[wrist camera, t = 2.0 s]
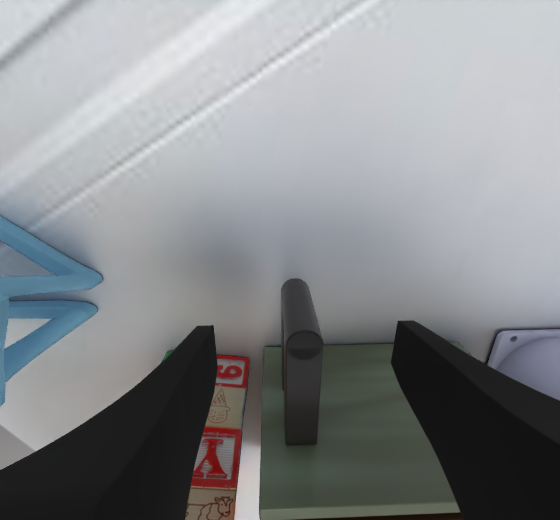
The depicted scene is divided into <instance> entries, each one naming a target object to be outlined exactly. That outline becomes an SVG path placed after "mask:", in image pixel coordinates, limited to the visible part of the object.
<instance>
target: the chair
mask: <svg viewBox="0 0 560 520" xmlns="http://www.w3.org/2000/svg"><path fill="white" fill-rule="evenodd" d="M0 240H1V241H2V242H4V243H5V244H7V245H9V246H10V247H12V248H13V249H15V250H17V251H18V252H20V253H21V254H23V255H24V256H26V257H28V258H29V259H31V260H32V261H34V262H36V263H37V264H39V265H40V266H42V267H44V268H45V269H47V270H48V271H50V272H52V273H53V274H55V275H57V276H13V277H0V406H1V405H2V404H3V403H4V402H5V383H6V382H7V381H8V380H9V379H10V378H11V377H12V376H13V375H14V374H15V373H17V372H18V371H19V370H20V369H22V368H23V367H24V366H25V365H27V364H28V363H29V362H30V361H32V360H33V359H34V358H36V357H37V356H38V355H40V354H41V353H42V352H44V351H45V350H46V349H47V348H49V347H50V346H52V345H53V344H54V343H56V342H57V341H58V340H60V339H61V338H63V337H64V336H65V335H67V334H68V333H69V332H71V331H72V330H74V329H75V328H76V327H78V326H79V325H81V324H82V323H84V322H85V321H86V320H88V319H89V318H91V317H92V316H93V315H95V314H96V312H97V308H96V307H95V306H94V305H92V304H90V303H86V302H79V301H9V298H10V297H16V296H23V295H29V294H38V293H48V292H61V291H75V290H89V289H91V288H93V287H95V286H96V285H98V284H99V283H101V282H102V276H101V275H100V274H99V273H98V272H96V271H94V270H92V269H90V268H88V267H86V266H84V265H82V264H80V263H78V262H76V261H74V260H72V259H71V258H69V257H67V256H65V255H64V254H62V253H60V252H59V251H57V250H55V249H54V248H52V247H50V246H49V245H47V244H45V243H44V242H42V241H40V240H39V239H37V238H36V237H34V236H32V235H31V234H29V233H27V232H26V231H24V230H22V229H21V228H19V227H18V226H16V225H14V224H13V223H11V222H9V221H8V220H6V219H4V218H3V217H1V216H0ZM8 318H43V319H52V320H50V321H49V322H47V323H46V324H44V325H43V326H41V327H40V328H38V329H37V330H35V331H33V332H32V333H30V334H29V335H27V336H26V337H24V338H22V339H21V340H19V341H17V342H16V343H14V344H12V345H10V346H9V347H7V348H5V349H4V344H5V338H6V332H7V325H8Z"/></svg>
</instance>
